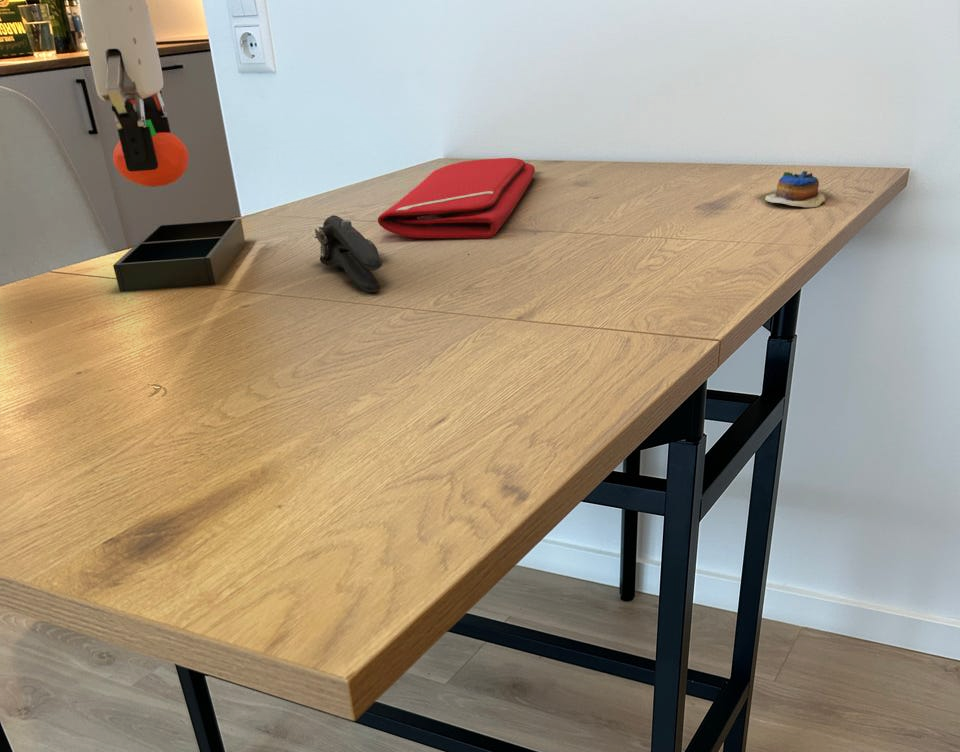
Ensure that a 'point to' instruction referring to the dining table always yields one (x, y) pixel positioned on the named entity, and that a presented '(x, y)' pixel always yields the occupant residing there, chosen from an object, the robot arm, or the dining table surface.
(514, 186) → the red felt clutch
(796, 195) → the dessert
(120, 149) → the pumpkin
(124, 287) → the tray
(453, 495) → the dining table surface
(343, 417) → the dining table surface
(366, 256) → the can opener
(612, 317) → the dining table surface
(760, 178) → the dining table surface
